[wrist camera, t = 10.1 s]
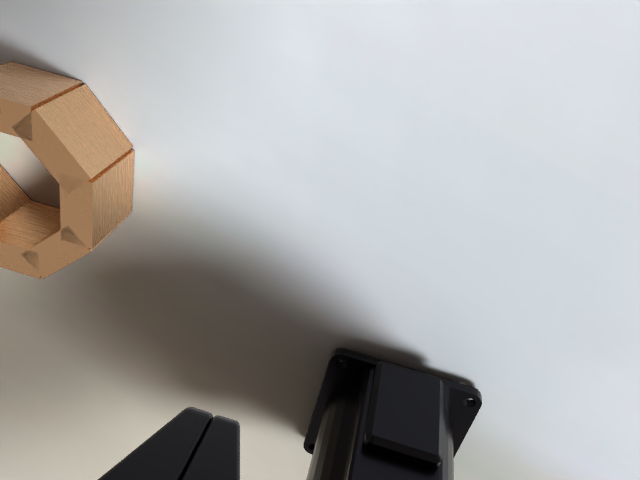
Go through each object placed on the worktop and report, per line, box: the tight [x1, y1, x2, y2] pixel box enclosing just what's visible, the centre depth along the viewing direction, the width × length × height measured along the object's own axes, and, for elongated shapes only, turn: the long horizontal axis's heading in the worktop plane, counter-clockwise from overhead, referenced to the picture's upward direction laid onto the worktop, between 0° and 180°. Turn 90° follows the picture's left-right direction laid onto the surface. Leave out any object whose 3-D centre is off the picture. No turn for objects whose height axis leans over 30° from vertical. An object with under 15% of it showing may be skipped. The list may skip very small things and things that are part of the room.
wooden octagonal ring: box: [0, 62, 135, 279], centre depth 21 cm, size 7×7×3 cm
